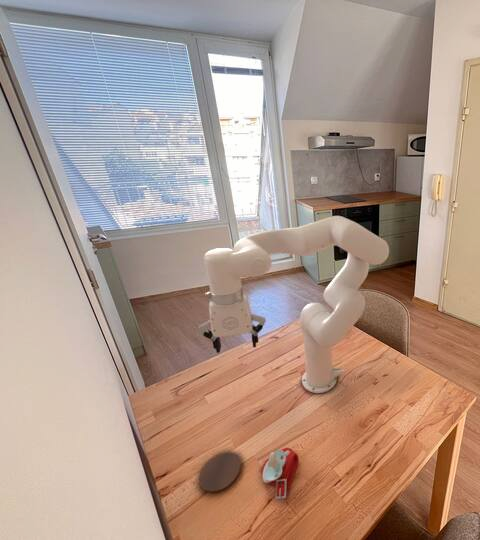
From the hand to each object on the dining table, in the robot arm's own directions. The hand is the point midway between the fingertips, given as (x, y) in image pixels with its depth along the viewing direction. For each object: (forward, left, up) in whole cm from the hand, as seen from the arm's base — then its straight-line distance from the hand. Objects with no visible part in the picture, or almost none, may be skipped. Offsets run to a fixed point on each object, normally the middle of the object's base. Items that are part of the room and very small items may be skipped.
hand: (237, 346), depth 84 cm
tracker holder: (-9, +23, -26) cm, 36 cm away
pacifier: (-8, +23, -23) cm, 34 cm away
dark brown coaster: (+6, +18, -26) cm, 32 cm away
